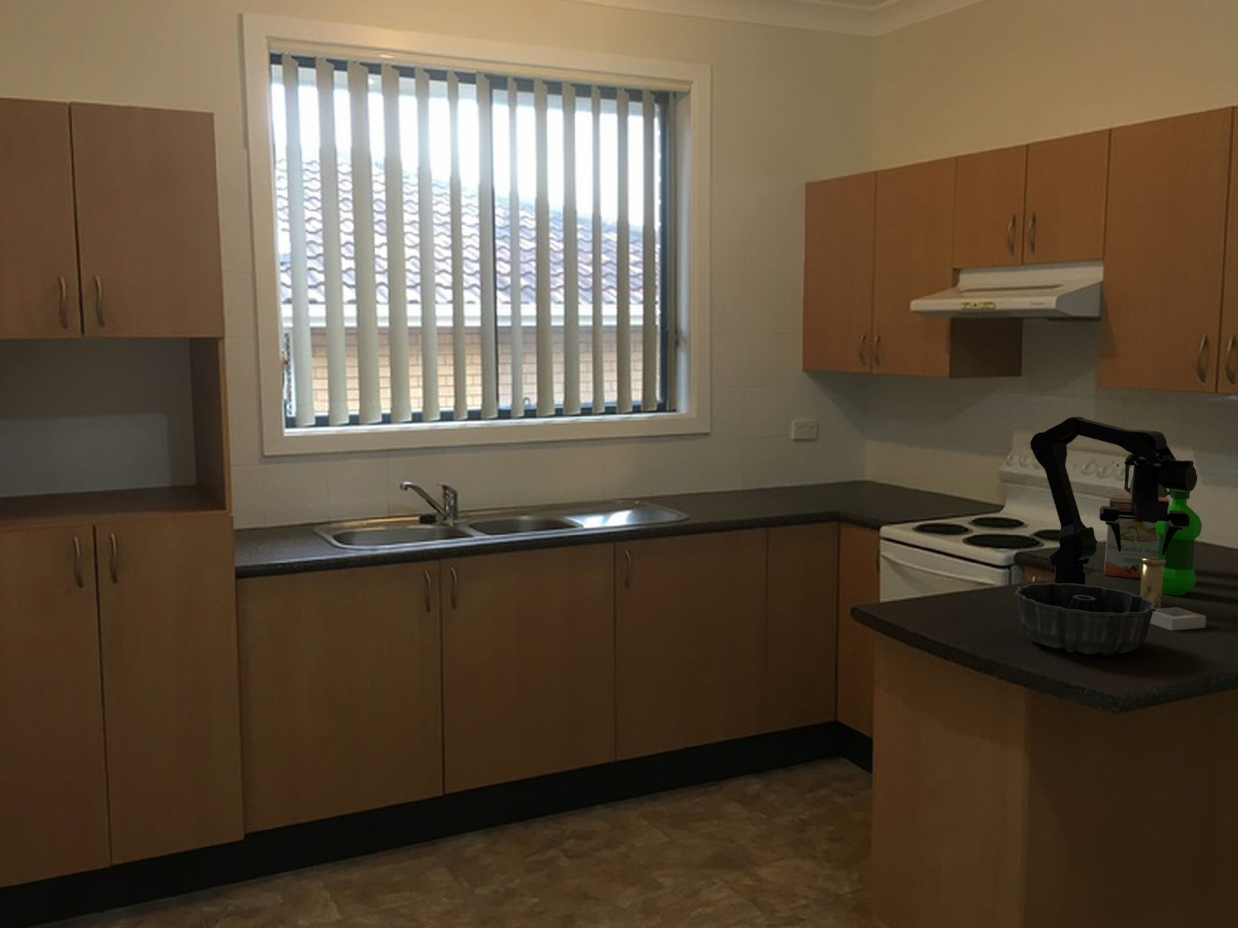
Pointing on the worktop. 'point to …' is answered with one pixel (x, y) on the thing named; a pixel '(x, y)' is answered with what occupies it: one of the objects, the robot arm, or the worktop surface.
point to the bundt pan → (1084, 617)
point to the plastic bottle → (1179, 548)
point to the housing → (1177, 619)
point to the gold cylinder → (1152, 579)
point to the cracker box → (1129, 542)
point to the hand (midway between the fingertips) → (1141, 553)
